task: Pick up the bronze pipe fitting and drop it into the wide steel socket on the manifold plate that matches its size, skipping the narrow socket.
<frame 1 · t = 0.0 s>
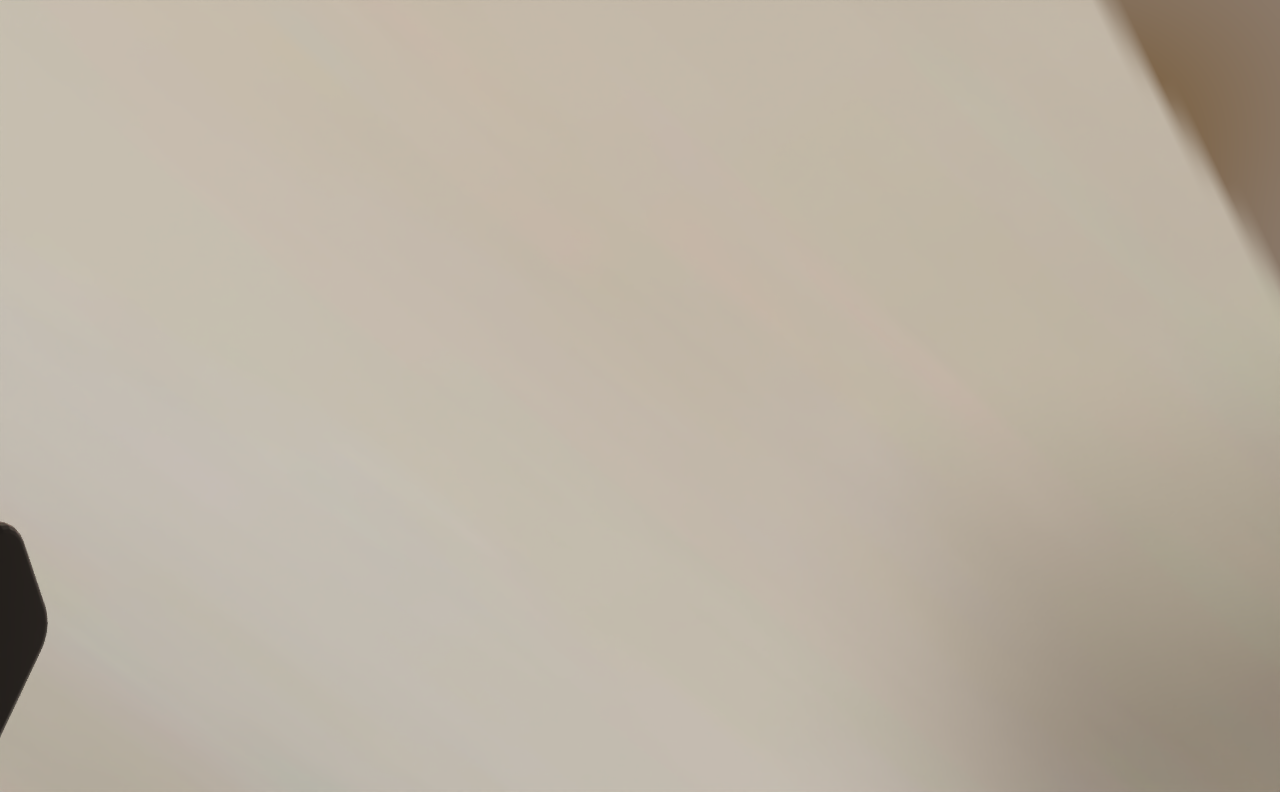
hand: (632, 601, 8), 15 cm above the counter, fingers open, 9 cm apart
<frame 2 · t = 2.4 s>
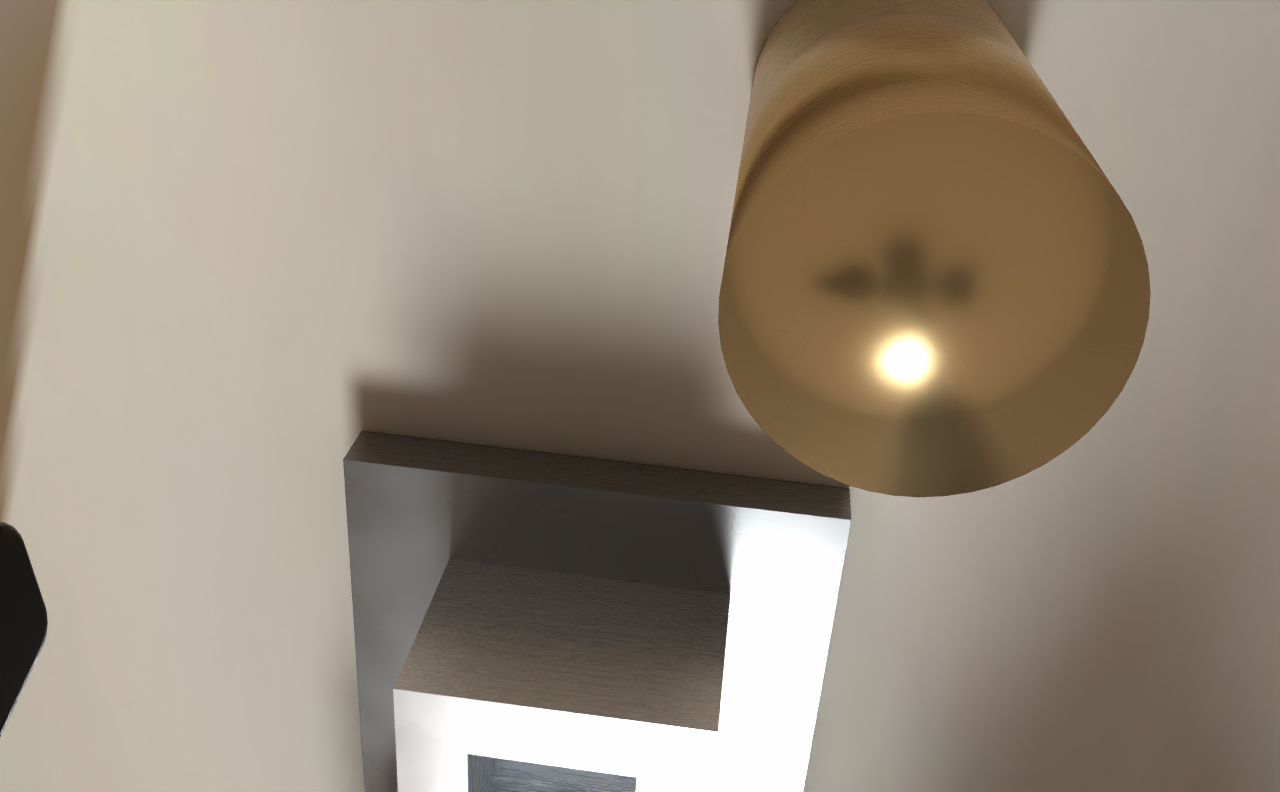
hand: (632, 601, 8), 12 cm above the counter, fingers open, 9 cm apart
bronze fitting: (883, 99, 19), on the counter
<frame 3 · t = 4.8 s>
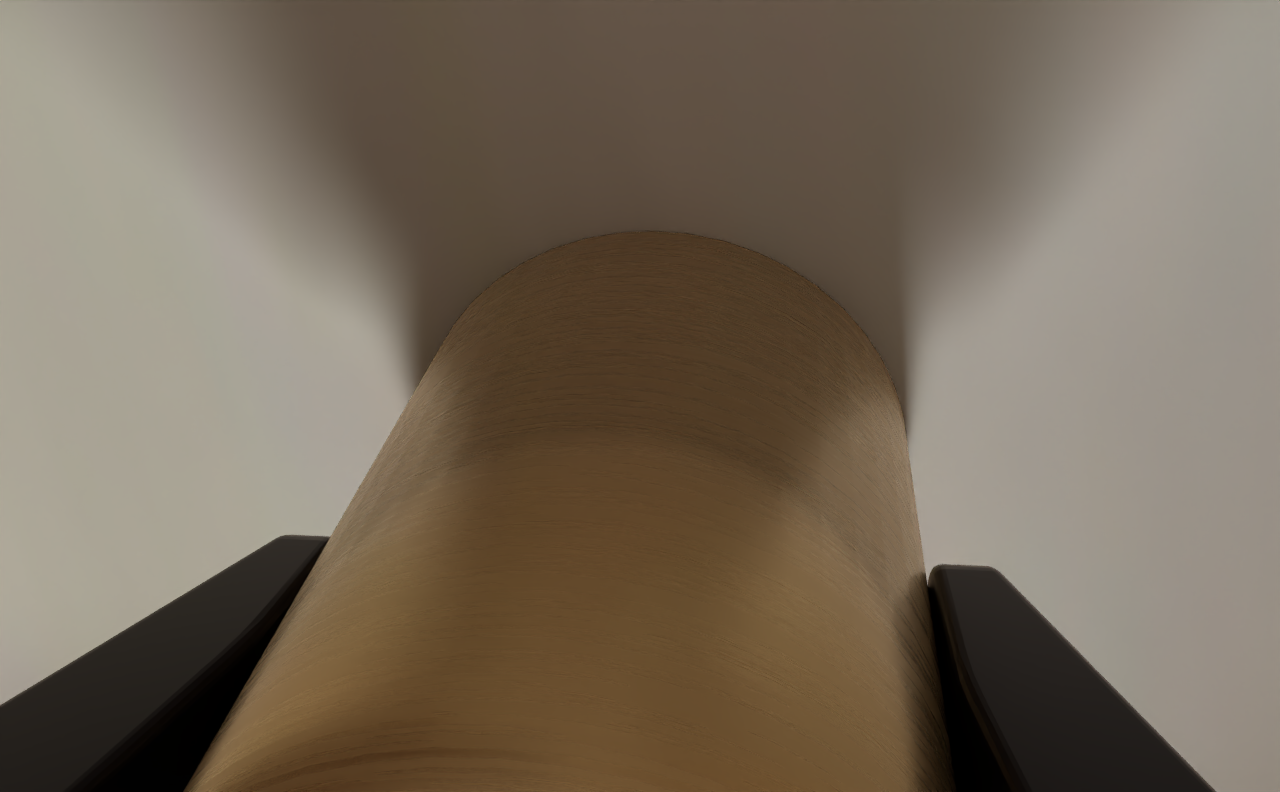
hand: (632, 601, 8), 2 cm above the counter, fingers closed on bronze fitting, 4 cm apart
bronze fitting: (659, 459, 10), on the counter, touching gripper
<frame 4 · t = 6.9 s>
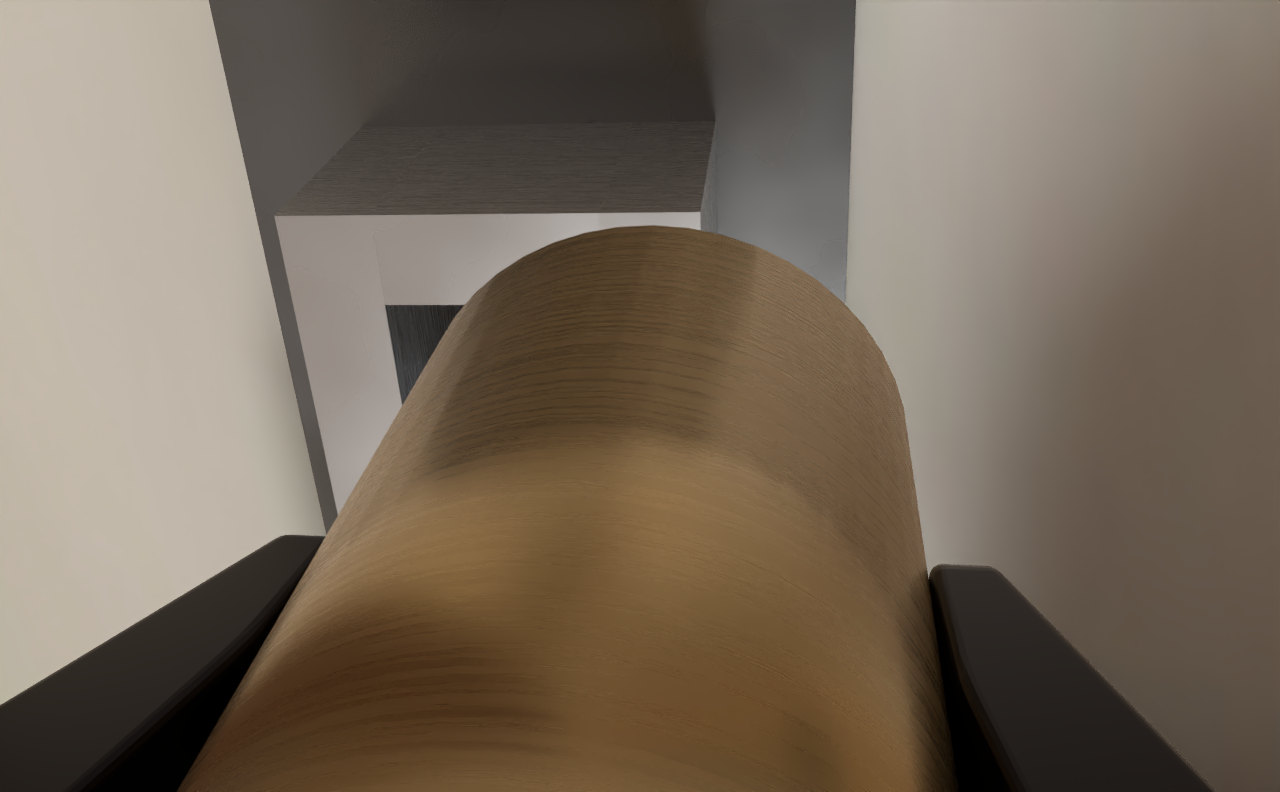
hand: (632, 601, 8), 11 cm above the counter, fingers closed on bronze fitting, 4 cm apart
manifold plate: (586, 537, 22), on the counter
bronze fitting: (659, 455, 10), point 10 cm above the counter, touching gripper
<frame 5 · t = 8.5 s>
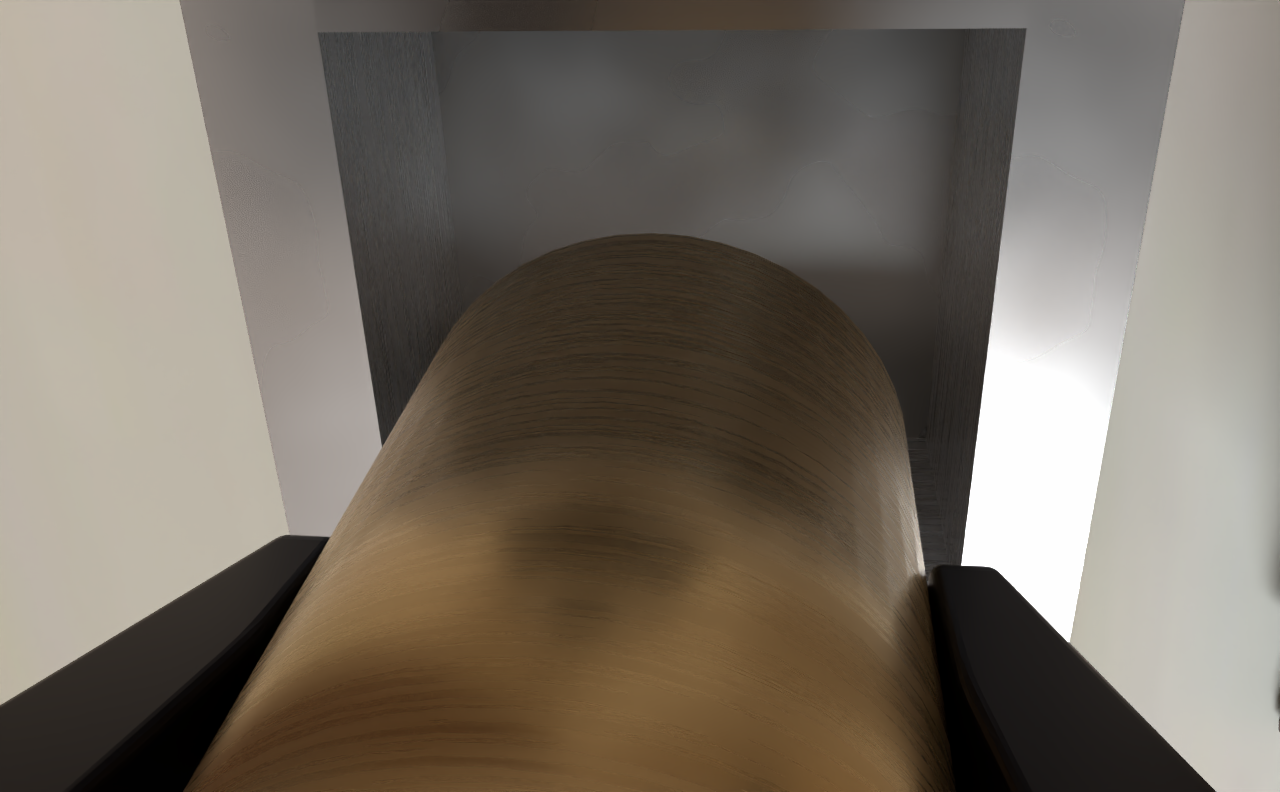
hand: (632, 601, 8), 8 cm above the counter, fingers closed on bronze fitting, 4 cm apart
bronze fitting: (658, 462, 10), point 7 cm above the counter, touching gripper
when the fingers open (5 cm above the counter, at t = 9.4 s): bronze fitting drops 3 cm, resting on manifold plate.
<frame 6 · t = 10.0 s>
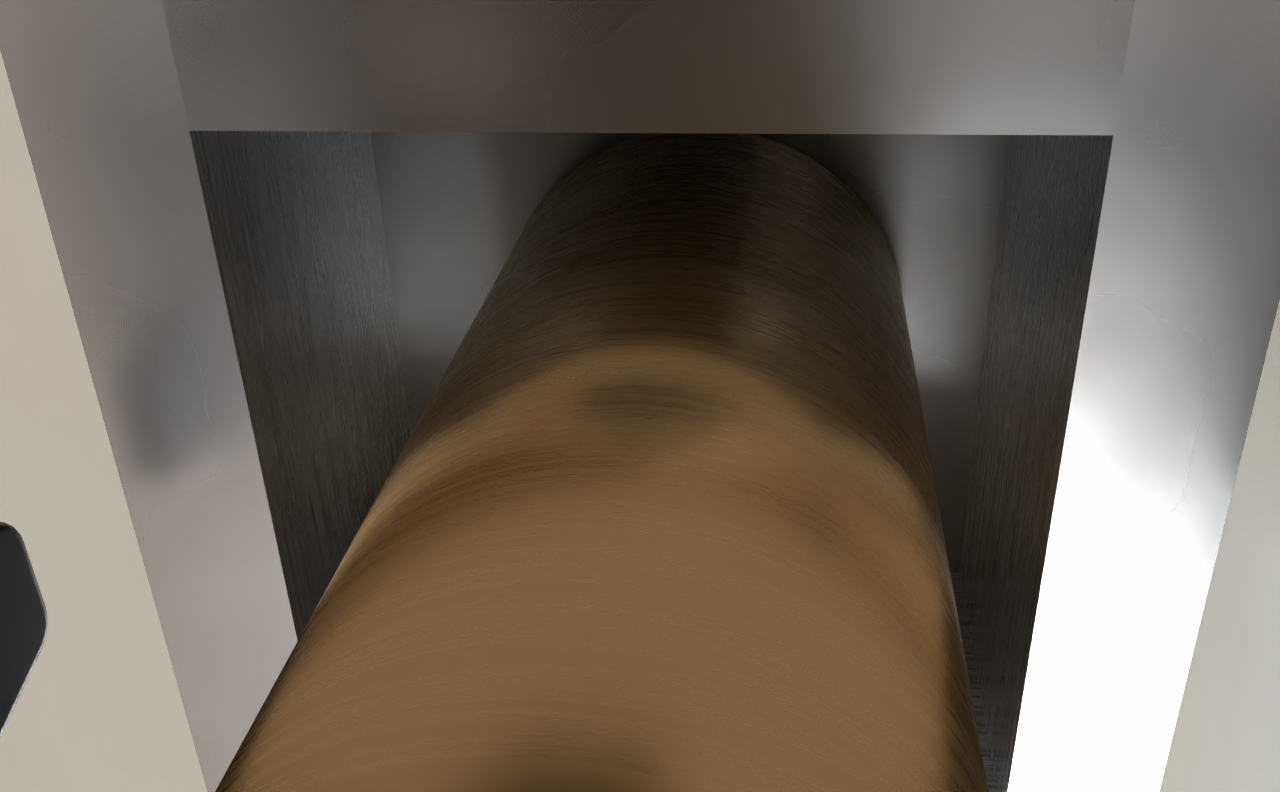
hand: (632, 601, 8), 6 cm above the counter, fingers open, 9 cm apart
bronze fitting: (701, 321, 12), point 1 cm above the counter, touching manifold plate
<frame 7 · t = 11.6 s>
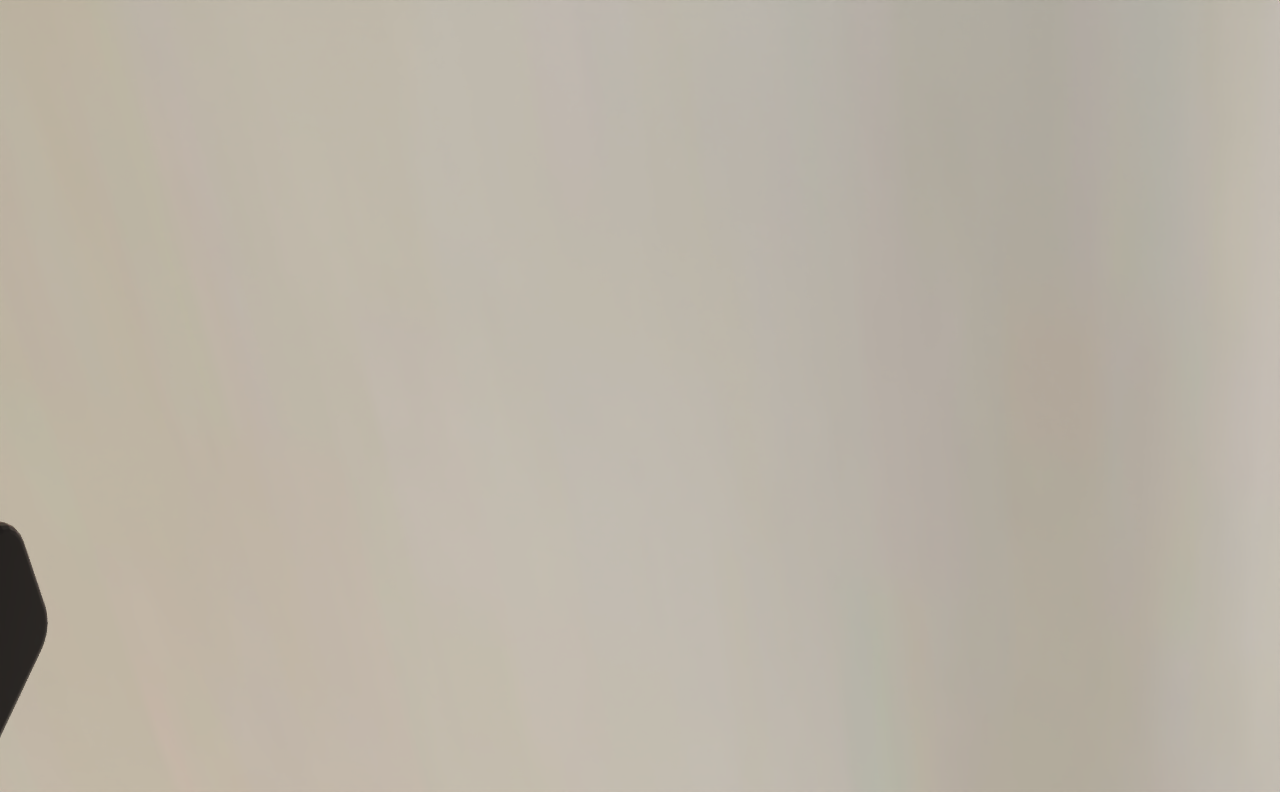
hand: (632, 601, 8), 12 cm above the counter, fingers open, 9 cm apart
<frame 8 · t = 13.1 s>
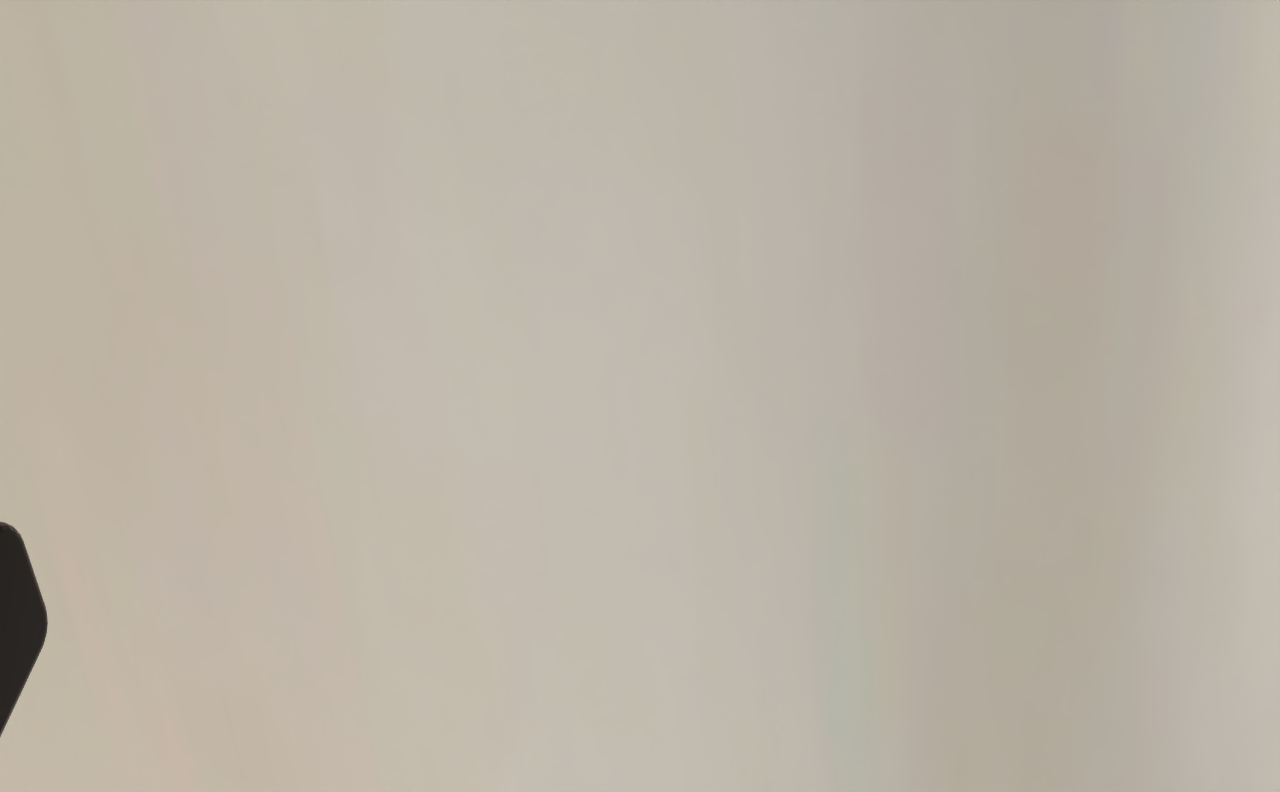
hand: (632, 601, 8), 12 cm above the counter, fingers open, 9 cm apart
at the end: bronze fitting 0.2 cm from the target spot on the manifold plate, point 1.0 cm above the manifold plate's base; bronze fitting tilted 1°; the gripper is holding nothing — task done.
